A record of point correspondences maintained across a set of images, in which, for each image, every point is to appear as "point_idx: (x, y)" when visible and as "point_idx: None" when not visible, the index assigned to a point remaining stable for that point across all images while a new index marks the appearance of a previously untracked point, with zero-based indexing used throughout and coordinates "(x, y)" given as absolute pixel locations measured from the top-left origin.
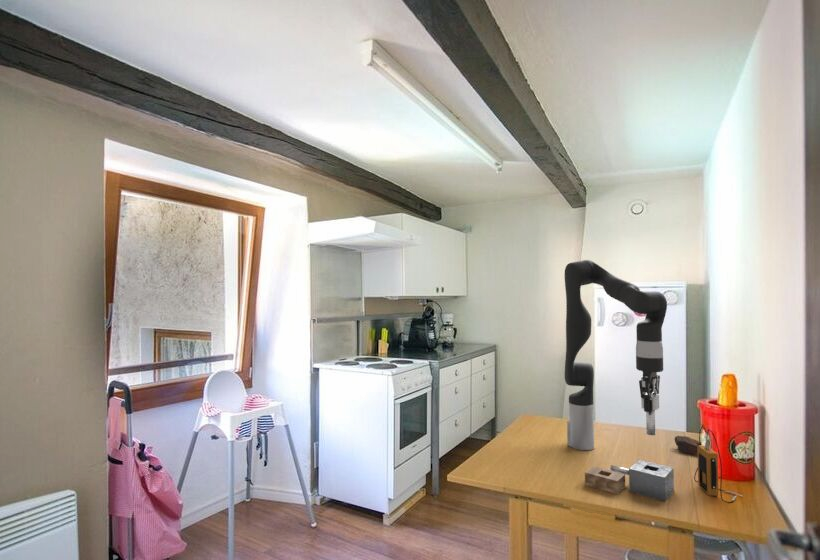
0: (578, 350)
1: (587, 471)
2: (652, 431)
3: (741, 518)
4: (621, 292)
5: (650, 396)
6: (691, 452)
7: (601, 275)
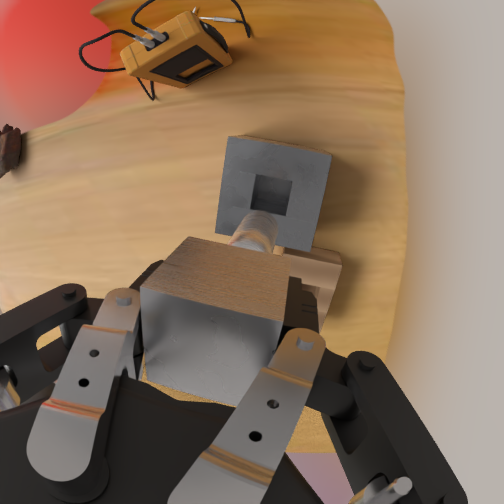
0: None
1: None
2: (275, 227)
3: (324, 11)
4: None
5: (350, 367)
6: (19, 141)
7: None
